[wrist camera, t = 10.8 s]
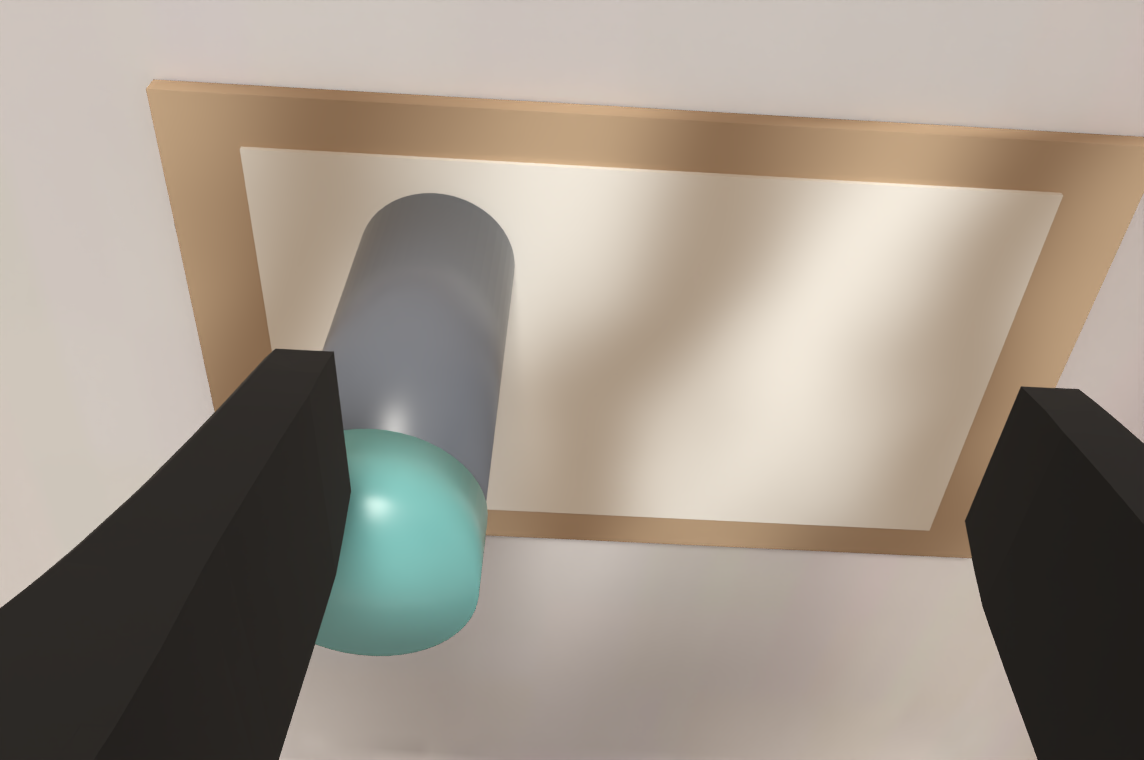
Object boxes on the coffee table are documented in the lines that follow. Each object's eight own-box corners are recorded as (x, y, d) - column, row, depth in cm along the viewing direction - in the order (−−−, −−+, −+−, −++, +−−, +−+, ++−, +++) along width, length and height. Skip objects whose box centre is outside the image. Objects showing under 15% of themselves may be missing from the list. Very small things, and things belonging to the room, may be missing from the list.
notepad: (1154, 137, 19) (1166, 150, 18) (973, 546, 26) (979, 561, 25) (153, 79, 18) (144, 91, 18) (242, 511, 25) (237, 526, 25)
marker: (517, 194, 19) (475, 507, 13) (517, 329, 21) (481, 659, 15) (348, 187, 19) (226, 499, 13) (364, 324, 21) (264, 651, 15)
